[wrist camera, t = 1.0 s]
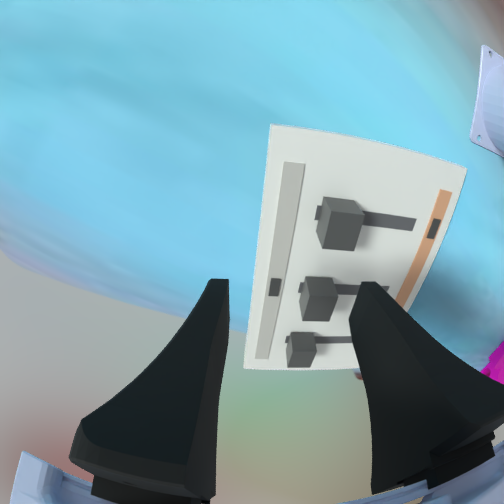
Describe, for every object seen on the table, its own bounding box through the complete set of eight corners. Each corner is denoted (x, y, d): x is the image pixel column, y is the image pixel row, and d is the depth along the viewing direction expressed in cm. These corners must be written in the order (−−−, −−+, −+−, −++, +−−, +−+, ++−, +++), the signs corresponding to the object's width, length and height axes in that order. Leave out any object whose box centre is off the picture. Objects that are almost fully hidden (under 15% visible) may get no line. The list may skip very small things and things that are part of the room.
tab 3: (354, 200, 16) (364, 215, 15) (345, 234, 18) (354, 251, 16) (323, 196, 16) (331, 211, 15) (315, 231, 18) (322, 248, 16)
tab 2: (332, 277, 20) (338, 296, 18) (324, 302, 21) (329, 321, 19) (305, 276, 20) (309, 295, 18) (298, 301, 21) (302, 321, 19)
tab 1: (313, 332, 23) (317, 351, 21) (307, 349, 24) (310, 367, 23) (290, 332, 23) (292, 351, 21) (285, 349, 24) (287, 367, 23)
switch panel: (456, 162, 16) (469, 169, 15) (370, 356, 28) (373, 368, 27) (269, 121, 15) (271, 125, 14) (243, 356, 28) (243, 370, 26)
